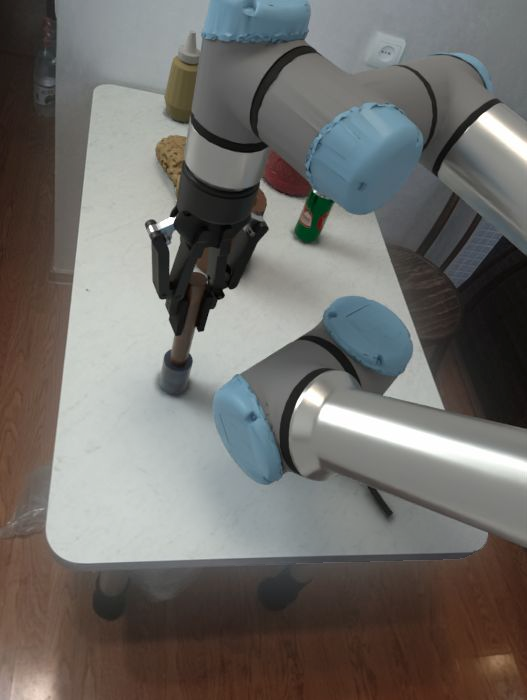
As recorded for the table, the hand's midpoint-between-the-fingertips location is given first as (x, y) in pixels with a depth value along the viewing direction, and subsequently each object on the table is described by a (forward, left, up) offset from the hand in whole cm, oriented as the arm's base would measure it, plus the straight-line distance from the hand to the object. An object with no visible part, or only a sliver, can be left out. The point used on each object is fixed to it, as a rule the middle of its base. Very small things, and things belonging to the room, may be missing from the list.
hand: (186, 325), depth 68 cm
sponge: (+29, -37, -14) cm, 49 cm away
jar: (+12, -26, -13) cm, 32 cm away
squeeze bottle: (+47, -55, -14) cm, 74 cm away
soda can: (+5, -45, -14) cm, 47 cm away
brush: (0, 0, -13) cm, 13 cm away
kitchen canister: (+18, -58, -14) cm, 62 cm away
